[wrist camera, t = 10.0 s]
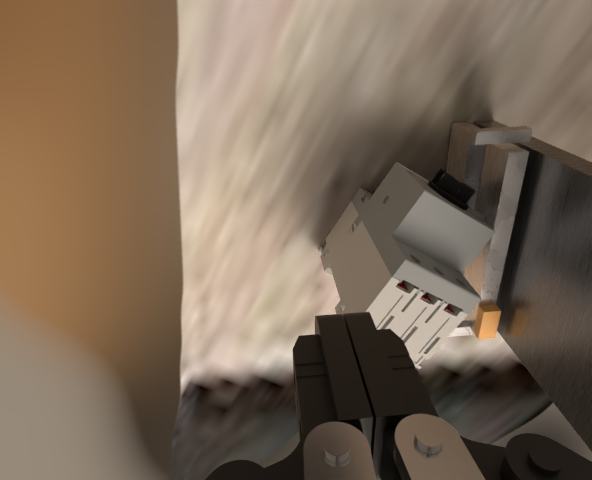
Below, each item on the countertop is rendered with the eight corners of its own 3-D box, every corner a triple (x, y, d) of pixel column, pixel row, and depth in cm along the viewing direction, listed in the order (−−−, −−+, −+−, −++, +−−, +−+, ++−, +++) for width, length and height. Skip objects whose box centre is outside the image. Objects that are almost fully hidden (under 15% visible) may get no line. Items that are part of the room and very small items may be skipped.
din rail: (452, 122, 42) (515, 156, 32) (468, 122, 42) (536, 155, 32) (432, 273, 50) (478, 339, 40) (445, 272, 50) (495, 337, 40)
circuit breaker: (453, 171, 45) (537, 236, 32) (373, 276, 50) (417, 370, 37) (395, 135, 43) (460, 188, 29) (318, 249, 48) (343, 339, 34)
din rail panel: (431, 108, 42) (653, 221, 19) (496, 105, 42) (791, 212, 19) (412, 283, 51) (545, 506, 28) (465, 280, 51) (640, 495, 28)
